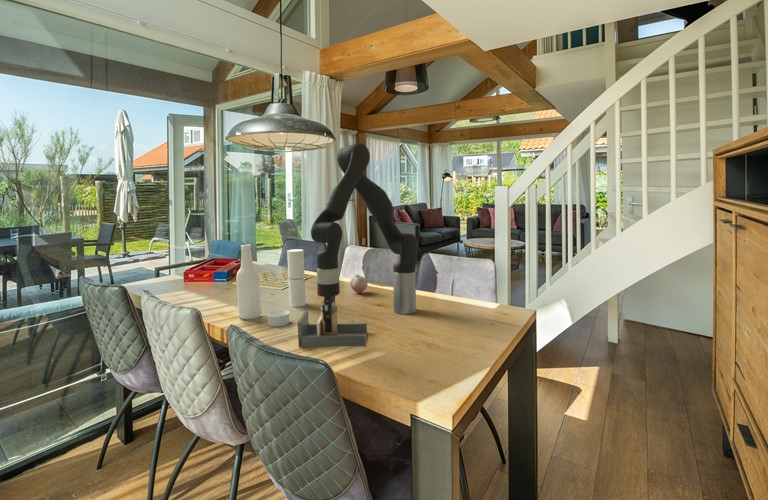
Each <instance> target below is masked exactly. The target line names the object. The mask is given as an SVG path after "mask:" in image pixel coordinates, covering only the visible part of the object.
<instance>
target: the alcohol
mask: <svg viewBox="0 0 768 500" xmlns="http://www.w3.org/2000/svg"><path fill="white" fill-rule="evenodd" d="M236 291H237V304H238V305H237V306H238V316H239V318H240V319H241V320H244V319H245V321H246V320H247V321H249V320H250V319H251V320H255V318H256V319H258V318H260V317H261V316H262V301H261V299H262V297H261V285H260V274H259V270H258V269H257V268H256V267H255V266H254V261H253V253H252V245H251V244H249V243H247V244H241V245H240V268H239V269H238V270H237V272H236Z"/></svg>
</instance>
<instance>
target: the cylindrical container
mask: <svg viewBox="0 0 768 500" xmlns="http://www.w3.org/2000/svg"><path fill="white" fill-rule="evenodd" d="M286 254H287V255H286V256H287V257H286V258H287V277H288V293H289V294H288V297H289V298H288V299H289V306H290V307H293V308H299V307H304V306H306V303H307V302H306V298H307V297H306V280H305V277H306V276H305V255H304V254H305V253H304V249H299V248H295V249H289V250H288V249H287V251H286Z"/></svg>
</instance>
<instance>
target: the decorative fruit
mask: <svg viewBox="0 0 768 500" xmlns="http://www.w3.org/2000/svg"><path fill="white" fill-rule="evenodd" d="M349 284H350V287H351V289H352V290H353V291H354V292H355V293H357V294H361V293H363V292H364V291H365V290H366V289H367V288H368V284H369V283H368V279H367V278H366V277H365V276H362V275H360V274H356V275H354V276H353V277H352V278H351V279H350V281H349Z"/></svg>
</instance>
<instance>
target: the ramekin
mask: <svg viewBox="0 0 768 500" xmlns="http://www.w3.org/2000/svg"><path fill="white" fill-rule="evenodd" d="M265 315H266V318H267V324H268V326H269V327H274V328H275V327H284V326H287V325H288V324H289V323H290V315H291V313H290V311H289V310H286V309H277V310H272V311H268V312H267V313H266V314H265Z"/></svg>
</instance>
